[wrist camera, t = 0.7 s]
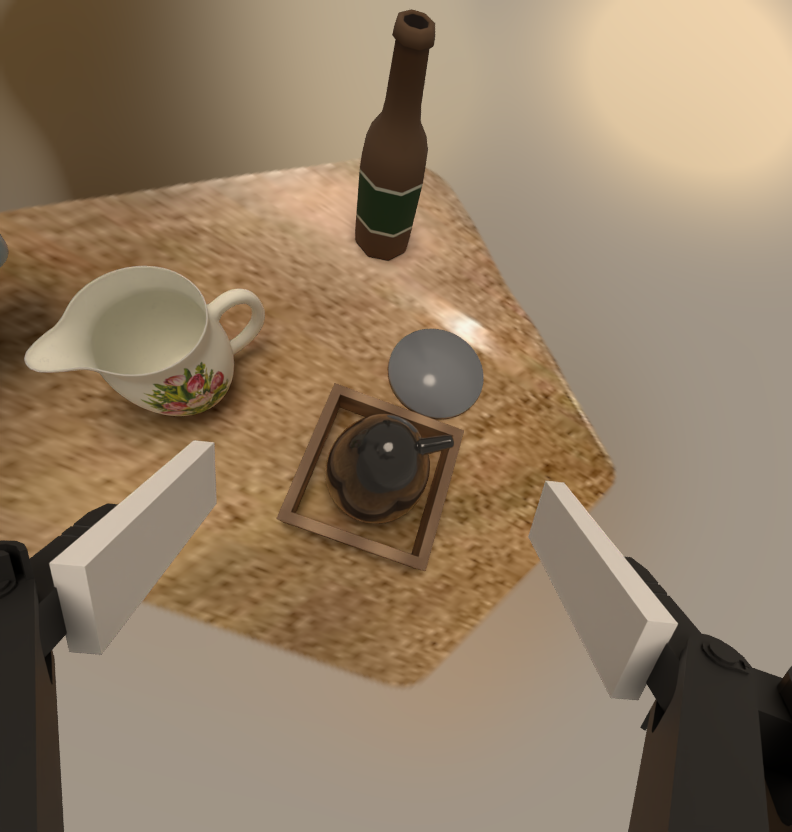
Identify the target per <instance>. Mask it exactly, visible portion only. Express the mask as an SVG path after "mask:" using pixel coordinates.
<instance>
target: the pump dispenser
mask: <svg viewBox="0 0 792 832" xmlns="http://www.w3.org/2000/svg"><path fill="white" fill-rule="evenodd" d="M453 446H454V439H453V437H452V436H451V435H443V436H435V437H427V438H423V437H422V435H421V434H420V432H419V431H418V430H417V429H416V428H415V427H414V426H413V425H412V424H411V423H410V422H408V421H407V420H405V419H403V418H401V417H398V416H395V415H390V414H377V415H372V416H368V417H365V418H363V419H360V420H358V421H356V422H355V423H353V424H352V425H350V426H349V427H347V428H346V429H345V430H344V431H343V432H342V433H341V434H340V435H339V437H338V438H337V439H336V441H335V442H334V444H333V446H332V447H331V449H330V452H329V454H328V457H327V461H326V468H325V476H326V483H327V487H328V490H329V493H330V495H331V497H332V499H333V500H334V502H335V503H336V505H337V506H338V507H339V508H340V509H341V510H342V511H343V512H344V513H346V514H347V515H349V516H350V517H352V518H354V519H356V520H359V521H362V522H366V523H385V522H389V521H393V520H395V519H397V518H399V517H401V516H403V515H404V514H406V513H407V512H408V511H409V510H411V509H412V508H413V506H414V505H415V504H416V503H417V502H418V500H419V499H420V497H421V495H422V493H423V491H424V489H425V487H426V484H427V481H428V477H429V472H430V458H429V454H431V453H435V452H438V451H442V450H446V449H449V448H453Z"/></svg>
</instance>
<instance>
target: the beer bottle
mask: <svg viewBox="0 0 792 832" xmlns="http://www.w3.org/2000/svg"><path fill="white" fill-rule="evenodd" d="M392 35H393V36H394V38H395V39H396V40H395V46H394V52H393V58H392V64H391V69H390V75H389V81H388V87H387V93H386V99H385V103H384V107H383V110H382V112H381V113H380V114H379V115H378V116H377V117H376V119H375V120H374V121H373V122H372V123H371V126H370V128H369V130H368V132H367V134H366V138H365V143H364V147H363V151H362V157H361V164H360V172H359V187H358V201H357V215H356V229H355V240H356V242H357V243H358V244H359V245H360V247H361V248H362V249H363V250H364V251H365V253H366V254H367V255H368V256H370V257H375V258H379V259H384V260H390V259H392V258H394V257H396V256H398V255H400V254H401V253H403V252H405V251H406V247H407V244H408V241H409V237H410V233H411V229H412V225H413V221H414V217H415V213H416V209H417V205H418V201H419V196H420V192H421V188H422V184H423V179H424V172H425V166H426V159H427V152H428V147H427V137H426V134H425V132H424V129H423V126H422V124H421V103H422V96H423V89H424V83H425V76H426V69H427V62H428V55H429V49H430V48H432V47H433V46H434V40H435V23H434V22H433V21H432V20H431V19H430V18H429V17H428V16H427V15H426V14H425V13H422V12H419V11H415V10H408V11H403V12H400V13H398V16H397V19H396V22H395V26H394V30H393V34H392Z"/></svg>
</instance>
